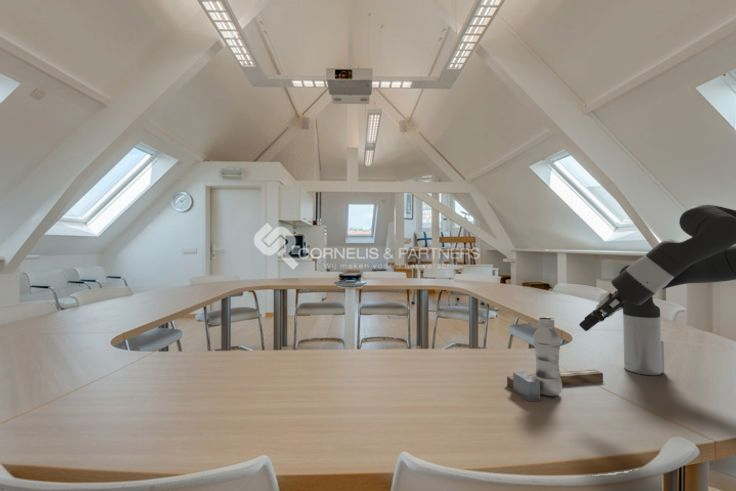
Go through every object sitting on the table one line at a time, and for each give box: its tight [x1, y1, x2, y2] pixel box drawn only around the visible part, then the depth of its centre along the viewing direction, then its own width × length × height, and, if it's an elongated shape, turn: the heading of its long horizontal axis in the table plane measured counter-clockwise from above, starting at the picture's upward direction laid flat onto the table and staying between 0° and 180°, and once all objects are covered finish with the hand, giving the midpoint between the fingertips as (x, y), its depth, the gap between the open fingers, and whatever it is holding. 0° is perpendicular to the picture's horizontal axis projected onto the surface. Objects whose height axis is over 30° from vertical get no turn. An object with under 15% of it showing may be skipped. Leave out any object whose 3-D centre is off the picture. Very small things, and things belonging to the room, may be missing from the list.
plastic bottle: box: [532, 316, 563, 397], centre depth 94 cm, size 6×7×20 cm
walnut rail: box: [506, 369, 604, 390], centre depth 101 cm, size 28×3×3 cm, turn 99°
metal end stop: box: [512, 371, 541, 403], centre depth 93 cm, size 3×7×5 cm, turn 9°
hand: (584, 324), depth 88 cm, fingers open, 8 cm apart
